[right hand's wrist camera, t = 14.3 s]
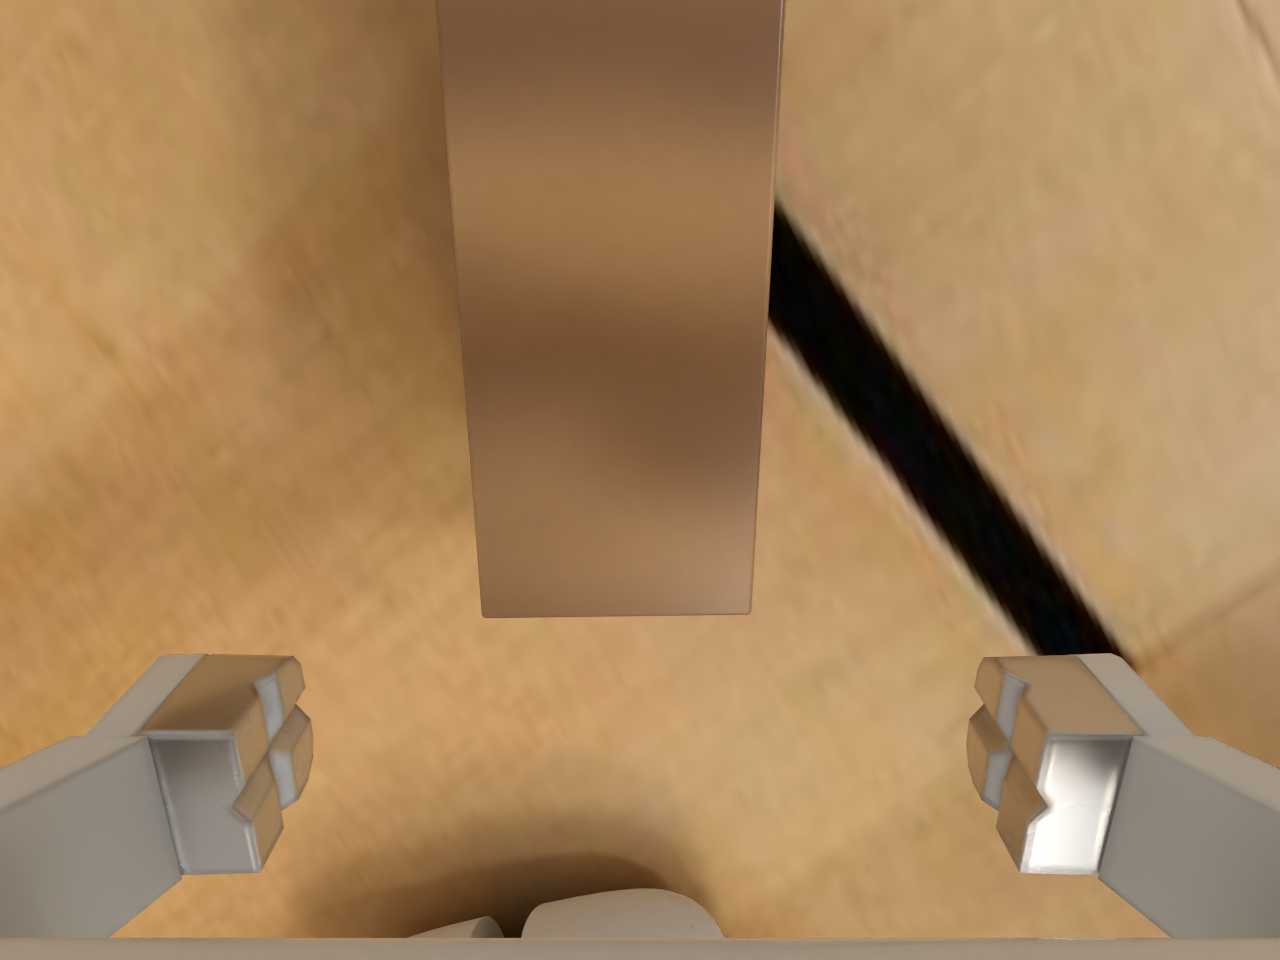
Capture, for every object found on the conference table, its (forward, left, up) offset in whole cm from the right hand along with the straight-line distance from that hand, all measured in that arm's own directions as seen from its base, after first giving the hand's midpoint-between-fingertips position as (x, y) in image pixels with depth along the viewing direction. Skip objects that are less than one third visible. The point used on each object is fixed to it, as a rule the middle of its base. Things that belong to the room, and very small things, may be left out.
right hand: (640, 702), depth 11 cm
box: (+6, +3, -18) cm, 20 cm away
